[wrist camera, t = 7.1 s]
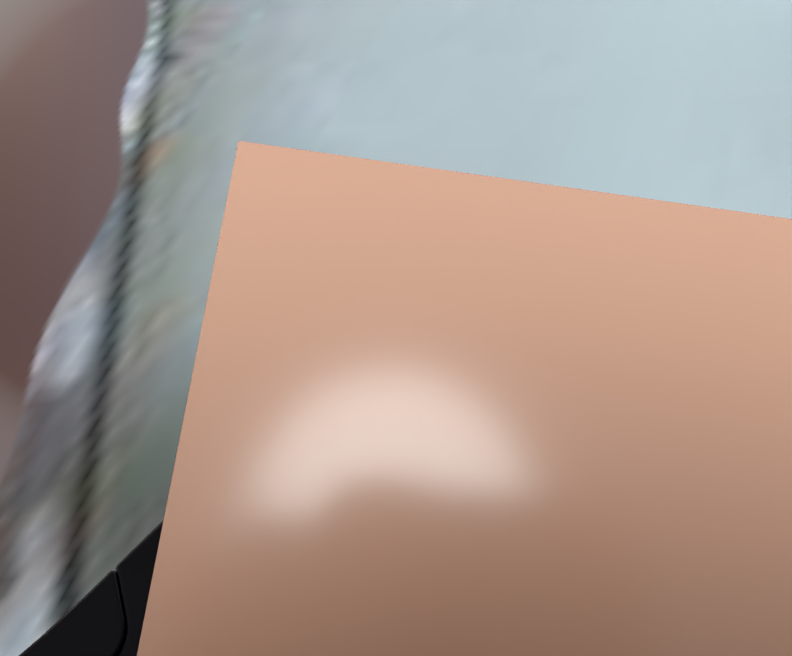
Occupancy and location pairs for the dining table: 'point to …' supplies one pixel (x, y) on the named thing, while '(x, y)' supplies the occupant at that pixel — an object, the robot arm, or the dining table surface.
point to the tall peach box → (480, 423)
